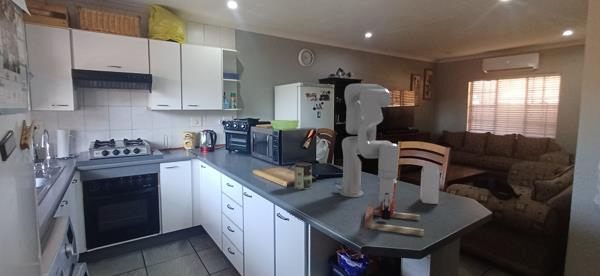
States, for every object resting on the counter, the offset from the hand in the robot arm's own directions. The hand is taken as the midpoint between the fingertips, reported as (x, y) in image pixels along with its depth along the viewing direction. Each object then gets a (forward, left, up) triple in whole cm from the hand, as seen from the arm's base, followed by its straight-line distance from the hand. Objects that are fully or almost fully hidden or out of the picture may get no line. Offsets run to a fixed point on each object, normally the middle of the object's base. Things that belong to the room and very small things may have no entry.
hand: (385, 215), depth 118 cm
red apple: (0, 0, -2) cm, 2 cm away
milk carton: (+21, +35, -3) cm, 41 cm away
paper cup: (+1, +20, -3) cm, 20 cm away
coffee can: (-47, +39, -3) cm, 61 cm away
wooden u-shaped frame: (+4, 0, -3) cm, 5 cm away
